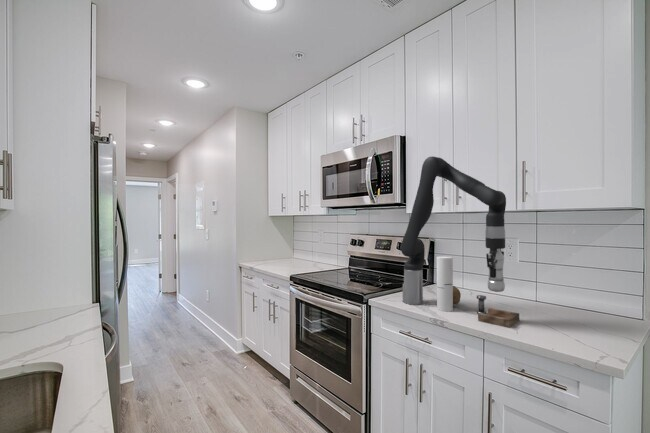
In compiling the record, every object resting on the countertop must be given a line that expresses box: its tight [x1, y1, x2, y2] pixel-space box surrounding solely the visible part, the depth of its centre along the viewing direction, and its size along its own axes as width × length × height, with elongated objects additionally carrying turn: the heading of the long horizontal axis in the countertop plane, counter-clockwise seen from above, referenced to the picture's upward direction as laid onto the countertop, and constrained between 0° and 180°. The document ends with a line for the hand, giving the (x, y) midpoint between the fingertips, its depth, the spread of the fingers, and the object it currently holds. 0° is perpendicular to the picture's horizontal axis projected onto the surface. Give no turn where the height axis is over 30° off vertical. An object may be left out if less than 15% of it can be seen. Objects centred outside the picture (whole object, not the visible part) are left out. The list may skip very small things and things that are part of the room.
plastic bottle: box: [487, 249, 506, 293], centre depth 139 cm, size 6×7×20 cm
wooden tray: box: [477, 307, 520, 329], centre depth 139 cm, size 12×13×3 cm
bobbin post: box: [476, 294, 487, 315], centre depth 149 cm, size 4×4×8 cm
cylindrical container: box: [436, 255, 454, 312], centre depth 156 cm, size 7×7×25 cm
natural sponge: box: [453, 285, 462, 307], centre depth 163 cm, size 9×9×10 cm
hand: (495, 276), depth 139 cm, fingers closed on plastic bottle, 5 cm apart
